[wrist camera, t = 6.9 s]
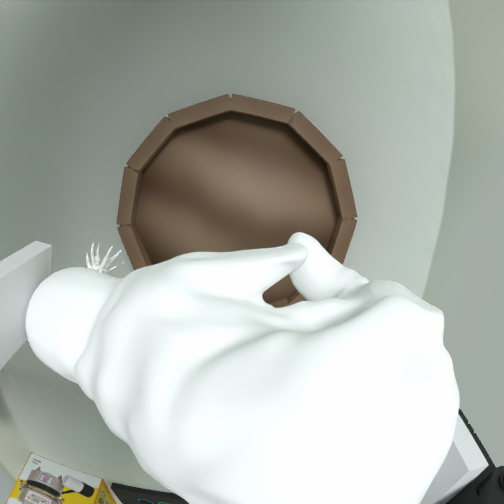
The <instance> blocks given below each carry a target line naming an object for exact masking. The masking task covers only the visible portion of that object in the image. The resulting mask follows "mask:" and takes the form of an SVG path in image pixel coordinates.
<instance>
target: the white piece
mask: <svg viewBox="0 0 504 504" xmlns="http://www.w3.org/2000/svg"><path fill="white" fill-rule="evenodd" d="M99 244H100V243H99ZM112 248H113V246H111V248H110V249H109V251H108V252H107V254H106V256H105V257H104V259H103V261H102V263H101V264H100V258H99V245H98V248H97V251H96V256H95V257H94V243H93V244H92V248H91V263H90V260H89V257H88V253H87V254H86V264H87V267H88V268H85V267H70V268H65V269H62V270H60V271H57V272H55V273H53V274H51V275H50V276H49V277H47V278H46V279H45V280H44V281H43V282H42V283H41V284H40V285H39V286H38V287H37V288H36V290H35V291H34V293H33V295H32V297H31V299H30V301H29V305H28V308H27V313H26V322H25V325H26V333H27V338H28V341H29V344H30V346H31V348H32V350H33V352H34V353H35V355H36V356H37V357H38V358H39V359H40V360H41V361H42V362H43V363H44V364H46V365H47V366H48V367H50V368H51V369H52V370H54V371H55V372H56V373H58V374H59V375H61V376H63V377H64V378H66V379H68V380H70V381H72V382H74V383H77V384H79V386H80V387H81V389H82V390H83V392H84V393H85V394H86V395H87V396H88V397H89V398H90V399H91V400H93V401H94V402H95V404H96V406H97V408H98V410H99V412H100V414H101V416H102V418H103V420H104V421H105V423H106V425H107V426H108V428H109V429H110V430H111V432H112V433H114V434H115V435H116V436H118V437H119V438H121V439H122V440H123V441H124V442H126V443H127V444H128V445H129V446H130V448H131V449H132V451H133V453H134V455H135V457H136V459H137V461H138V463H139V464H140V466H141V467H142V469H143V470H144V471H145V472H147V473H148V474H149V475H150V476H152V477H153V478H154V479H155V480H157V481H158V482H159V483H160V484H162V485H163V486H164V487H166V488H167V489H169V490H170V491H172V492H174V493H175V494H177V495H178V496H180V497H182V498H183V499H185V500H186V501H187V502H188V503H189V504H420V502H421V501H422V499H423V497H424V495H425V493H426V492H427V490H428V488H429V486H430V484H431V482H432V481H433V479H434V477H435V476H436V474H437V472H438V471H439V469H440V467H441V465H442V464H443V462H444V460H445V458H446V456H447V454H448V452H449V449H450V447H451V444H452V441H453V437H454V433H455V428H456V422H457V417H458V411H459V391H458V387H457V383H456V380H455V376H454V371H453V364H452V360H451V357H450V355H449V353H448V352H447V350H446V349H445V348H444V345H443V331H444V315H443V313H442V311H441V310H439V309H438V308H436V307H434V306H432V305H430V304H428V303H427V302H425V301H423V300H422V299H420V298H419V297H417V296H416V295H414V294H413V293H412V292H410V291H409V290H408V289H406V288H405V287H404V286H402V285H401V284H399V283H397V282H394V281H390V280H378V281H371V282H369V280H367V279H366V278H364V277H362V276H360V275H359V274H358V273H357V272H356V271H354V270H352V269H349V268H346V267H345V266H344V265H342V264H341V263H339V262H338V261H337V260H336V259H334V258H333V257H332V256H331V255H330V254H329V253H328V252H327V251H326V250H325V249H324V248H323V247H322V246H321V244H320V243H319V242H318V241H317V240H316V239H315V238H313V237H312V236H310V235H308V234H305V233H302V232H297V233H294V234H293V235H292V236H291V237H290V238H289V240H288V243H287V245H284V246H280V247H274V248H263V249H250V250H240V251H233V252H192V253H187V254H183V255H180V256H177V257H174V258H172V259H170V260H167V261H164V262H161V263H158V264H155V265H150V266H146V267H143V268H140V269H137V270H135V271H133V272H131V273H129V274H128V275H127V276H125V277H124V278H116V277H113V276H110V275H109V274H107V272H108V271H107V269H108V267H109V266H110V264H111V263H112V261H113V260H114V259H115V258H116V257H117V256H118V254H119V253H120V252H121V251H122V250H120V251H119V252H117V253H116V254H115V255H114V256H113V257H111V259H110V258H109V261H108V262H107V260H108V257H109V254H110V252H111V250H112ZM106 262H107V263H106ZM121 264H122V263H121ZM115 267H117V266H115ZM115 267H113V268H111V269H110V270H112V269H114V268H115ZM110 270H109V271H110ZM106 271H107V272H106ZM288 274H289V275H290V278H291V281H292V283H293V285H294V287H295V288H296V289H297V291H298V292H299V293H300V294H301V295H302V296H303V297H304V298H305V299H306V300H307V301H301V302H298V303H295V304H293V305H289V306H286V307H282V308H274V307H273V306H272V305H270V304H267V303H265V301H264V300H263V298H262V294H263V293H264V291H266V290H267V289H268V288H270V287H271V286H272V285H274V284H275V283H276V282H278V281H279V280H281V279H282V278H284V277H285V276H286V275H288Z"/></svg>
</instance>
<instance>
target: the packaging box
mask: <svg viewBox="0 0 504 504" xmlns="http://www.w3.org/2000/svg"><path fill="white" fill-rule="evenodd" d="M6 504H116V502H115V501H114V499H113V497H112V495H111V494H110V492H109V490H108V488H107V486H106V484H105V483H104V481H103V479H102V478H99V477H96V476H93V475H89V474H86V473H83V472H80V471H77V470H75V469H72V468H69V467H66V466H64V465H61V464H58V463H56V462H53V461H51V460H48V459H46V458H43V457H41V456H39V455H36V454H34V453H31V454H30V456H29V458H28V460H27V462H26V464H25V466H24V468H23V470H22V472H21V474H20V475H19V477H18V479H17V481H16V483H15V486H14V488H13V490H12V492H11V494H10V496H9V498H8V500H7V502H6Z"/></svg>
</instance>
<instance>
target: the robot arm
mask: <svg viewBox="0 0 504 504" xmlns="http://www.w3.org/2000/svg"><path fill="white" fill-rule="evenodd" d="M51 274H52V245H49V244H46V243H43V242H39V241H34V242H33V243H31V244H29V245H27V246H26V247H24V248H22V249H20V250H19V251H17V252H15V253H14V254H12V255H10V256H9V257H7V258H5V259H4V260H2V261H0V370H1V369H2V368H3V366H4V365H5V364H6V363H7V362H8V361H9V360H10V358H11V357H12V356H13V355H14V354H15V353H16V352H17V351H18V350H19V348H20V347H21V346H22V345H23V344H24V343H25V342H26V341H27V340H28V338H27V333H26V325H25V322H26V313H27V308H28V305H29V301H30V299H31V297H32V295H33V293H34V291H35V290H36V288H37V287H38V286H39V285H40V284H41V283H42V282H43V281H44V280H45V279H46V278H47V277H49V276H50V275H51ZM420 504H504V466H500V467H497V468H496V467H495V465H494V464H493V462H492V460H491V458H490V457H489V455H488V453H487V451H486V450H485V448H484V446H483V445H482V443H481V441H480V440H479V438H478V437H477V435H476V433H474V430H473V428H472V427H471V425H470V424H468V420H467V419H466V417H465V416H464V414H463V412H462V411H461V410H460V409H459V411H458V417H457V422H456V428H455V433H454V437H453V441H452V444H451V447H450V449H449V452H448V454H447V456H446V458H445V460H444V462H443V464H442V465H441V467H440V469H439V471H438V472H437V474H436V476H435V477H434V479H433V481H432V482H431V484H430V486H429V488H428V490H427V492H426V493H425V495H424V497H423V499H422V501H421V502H420Z"/></svg>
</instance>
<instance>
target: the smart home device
mask: <svg viewBox="0 0 504 504" xmlns="http://www.w3.org/2000/svg"><path fill="white" fill-rule="evenodd" d="M111 489H112V490H113V492H114V493H115V494H116V496H117V497H118V498H119V500H120V501H121V502H122V503H123V504H189V503H188V502H187V501H186V500H185V499H183V498H182V497H180V496H178V495H177V494H174V493H167V492H160V491H153V490H147V489H142V488H136V487H131V486H126V485H122V484H117V483H112V486H111Z"/></svg>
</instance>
